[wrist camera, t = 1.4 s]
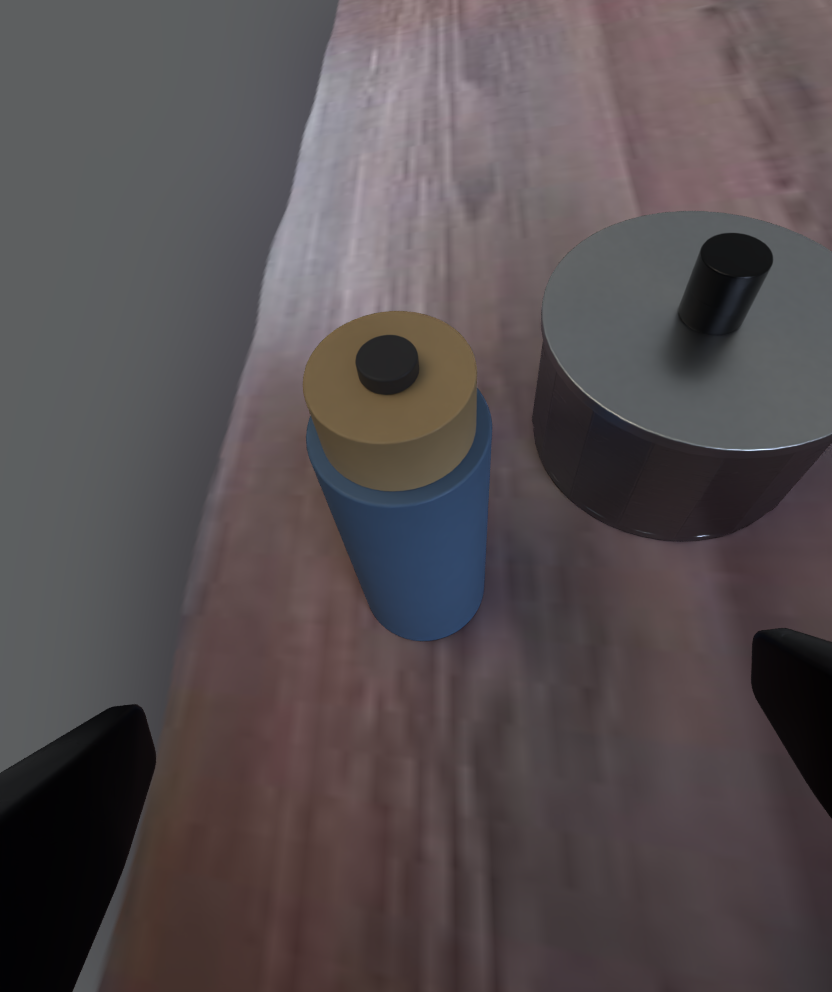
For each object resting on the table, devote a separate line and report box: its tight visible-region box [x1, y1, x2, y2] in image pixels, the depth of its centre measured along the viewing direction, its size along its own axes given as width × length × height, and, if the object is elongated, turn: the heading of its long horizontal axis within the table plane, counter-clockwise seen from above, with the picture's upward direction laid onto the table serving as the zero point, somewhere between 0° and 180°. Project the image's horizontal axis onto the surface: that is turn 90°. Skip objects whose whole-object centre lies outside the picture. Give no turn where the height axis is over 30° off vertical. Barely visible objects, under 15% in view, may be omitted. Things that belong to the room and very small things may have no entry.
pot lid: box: [541, 211, 832, 459], centre depth 21 cm, size 12×12×4 cm
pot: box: [532, 342, 832, 541], centre depth 25 cm, size 11×11×6 cm
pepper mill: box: [303, 311, 492, 641], centre depth 19 cm, size 5×5×13 cm
